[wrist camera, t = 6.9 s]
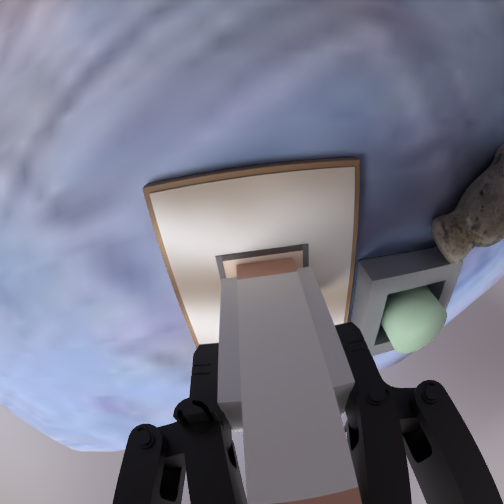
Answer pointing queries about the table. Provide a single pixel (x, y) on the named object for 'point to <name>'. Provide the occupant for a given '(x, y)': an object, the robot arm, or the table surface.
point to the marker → (287, 395)
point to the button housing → (397, 288)
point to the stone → (474, 215)
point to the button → (412, 318)
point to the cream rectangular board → (257, 230)
